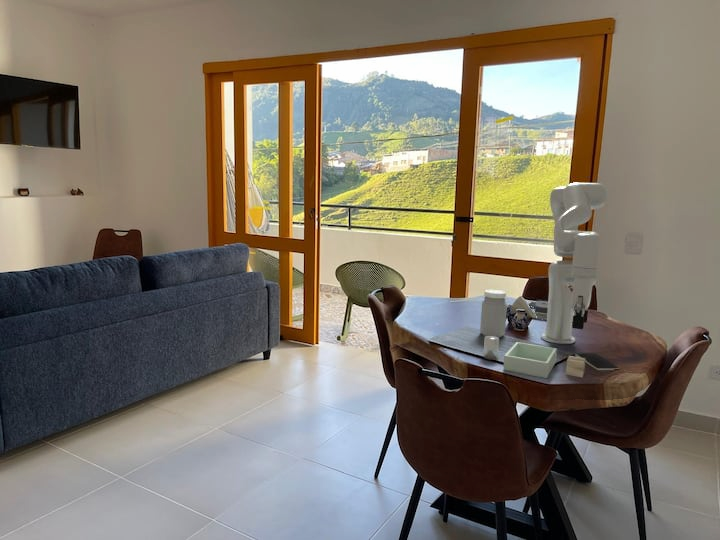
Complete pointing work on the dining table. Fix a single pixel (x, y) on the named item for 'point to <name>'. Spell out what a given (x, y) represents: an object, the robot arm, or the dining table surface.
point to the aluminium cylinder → (491, 347)
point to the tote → (530, 359)
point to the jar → (493, 313)
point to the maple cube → (575, 366)
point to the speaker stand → (541, 315)
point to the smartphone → (597, 361)
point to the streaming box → (541, 306)
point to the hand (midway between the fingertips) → (579, 325)
